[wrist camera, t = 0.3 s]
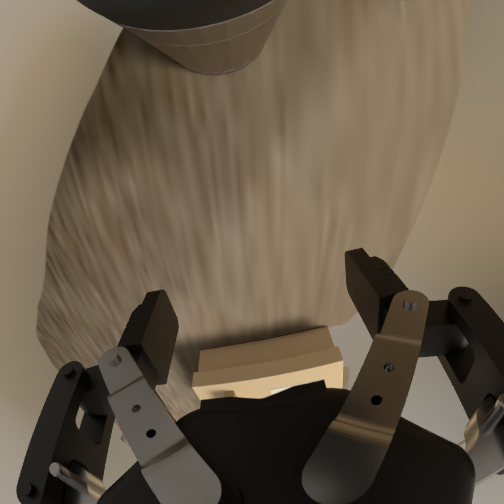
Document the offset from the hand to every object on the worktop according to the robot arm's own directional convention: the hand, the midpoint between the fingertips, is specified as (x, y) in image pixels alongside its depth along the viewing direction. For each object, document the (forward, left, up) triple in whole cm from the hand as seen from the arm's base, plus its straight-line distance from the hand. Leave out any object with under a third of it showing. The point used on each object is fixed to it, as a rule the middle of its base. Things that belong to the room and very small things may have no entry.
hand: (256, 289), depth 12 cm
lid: (+27, -2, -13) cm, 30 cm away
